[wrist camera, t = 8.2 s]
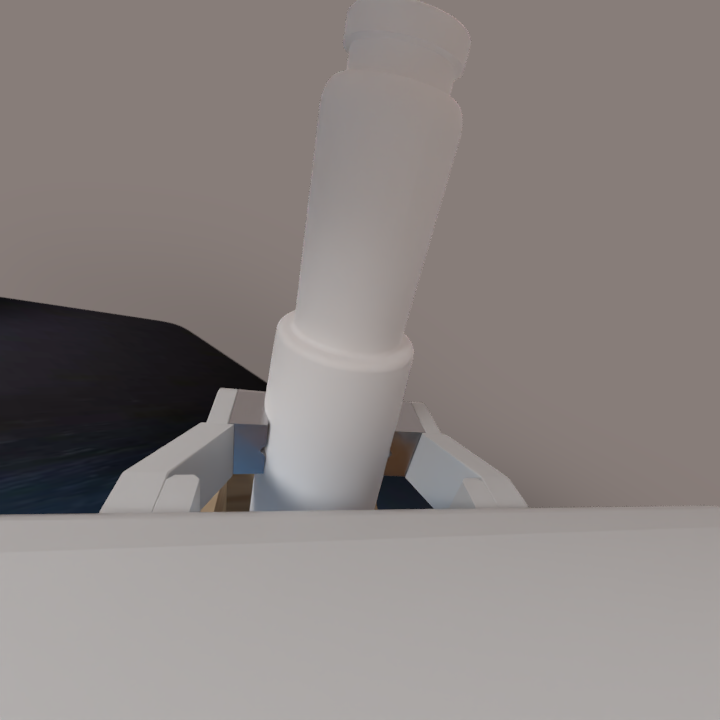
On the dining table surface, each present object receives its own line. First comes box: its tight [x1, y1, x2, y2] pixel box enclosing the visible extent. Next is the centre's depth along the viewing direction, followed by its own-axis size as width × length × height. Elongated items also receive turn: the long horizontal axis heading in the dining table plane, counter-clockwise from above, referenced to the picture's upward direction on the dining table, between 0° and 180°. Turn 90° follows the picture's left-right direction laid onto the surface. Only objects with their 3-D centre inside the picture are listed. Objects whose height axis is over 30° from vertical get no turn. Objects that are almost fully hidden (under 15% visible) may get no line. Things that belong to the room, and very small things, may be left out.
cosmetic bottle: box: [249, 0, 471, 511], centre depth 11 cm, size 6×6×22 cm
